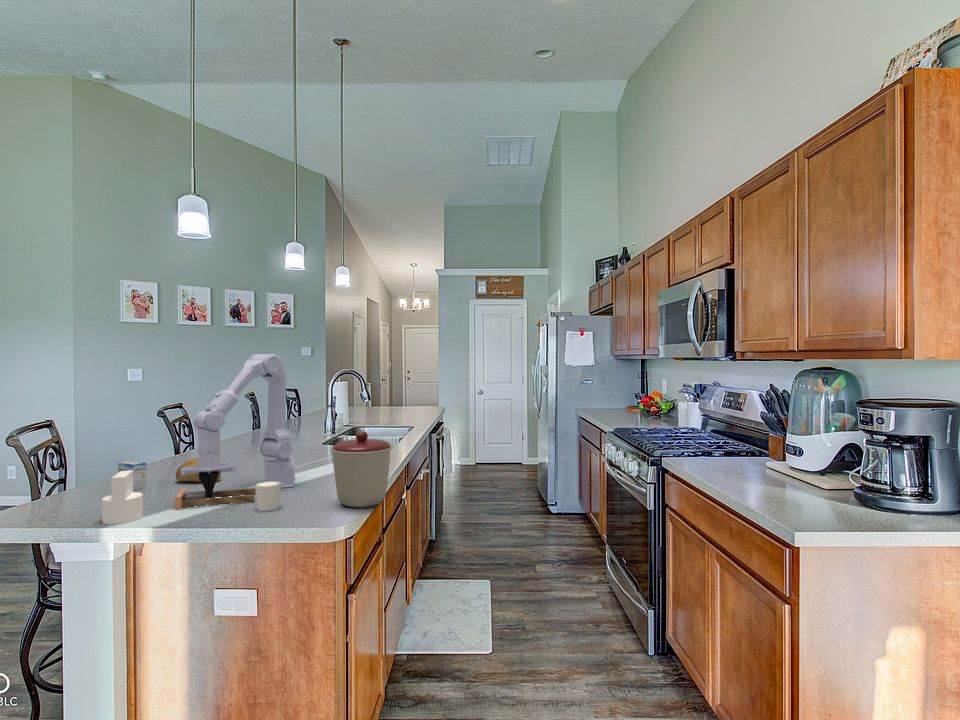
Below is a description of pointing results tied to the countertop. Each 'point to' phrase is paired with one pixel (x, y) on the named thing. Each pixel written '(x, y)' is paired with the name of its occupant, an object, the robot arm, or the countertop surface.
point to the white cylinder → (268, 495)
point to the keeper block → (195, 495)
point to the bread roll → (190, 476)
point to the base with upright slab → (122, 501)
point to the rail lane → (224, 498)
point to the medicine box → (135, 473)
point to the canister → (361, 470)
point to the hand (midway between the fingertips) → (209, 497)
